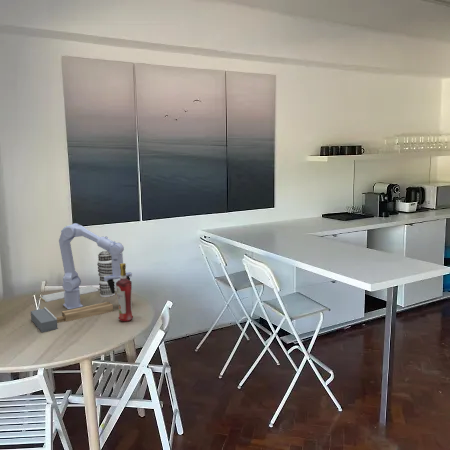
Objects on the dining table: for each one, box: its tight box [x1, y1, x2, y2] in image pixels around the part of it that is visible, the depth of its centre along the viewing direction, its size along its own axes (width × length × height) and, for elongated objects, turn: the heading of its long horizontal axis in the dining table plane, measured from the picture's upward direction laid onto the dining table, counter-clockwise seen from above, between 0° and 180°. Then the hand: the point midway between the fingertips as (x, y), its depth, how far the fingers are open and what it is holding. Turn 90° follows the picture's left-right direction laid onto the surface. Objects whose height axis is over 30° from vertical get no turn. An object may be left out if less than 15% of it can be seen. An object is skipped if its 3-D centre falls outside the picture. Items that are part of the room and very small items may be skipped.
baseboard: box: [38, 285, 100, 303], centre depth 271 cm, size 31×3×12 cm
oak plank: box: [55, 301, 114, 324], centre depth 236 cm, size 6×28×4 cm, turn 125°
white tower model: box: [97, 250, 116, 298], centre depth 267 cm, size 9×9×25 cm
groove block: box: [30, 306, 58, 333], centre depth 225 cm, size 20×7×5 cm, turn 35°
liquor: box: [115, 262, 134, 323], centre depth 227 cm, size 7×7×28 cm
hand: (119, 292), depth 246 cm, fingers open, 6 cm apart
